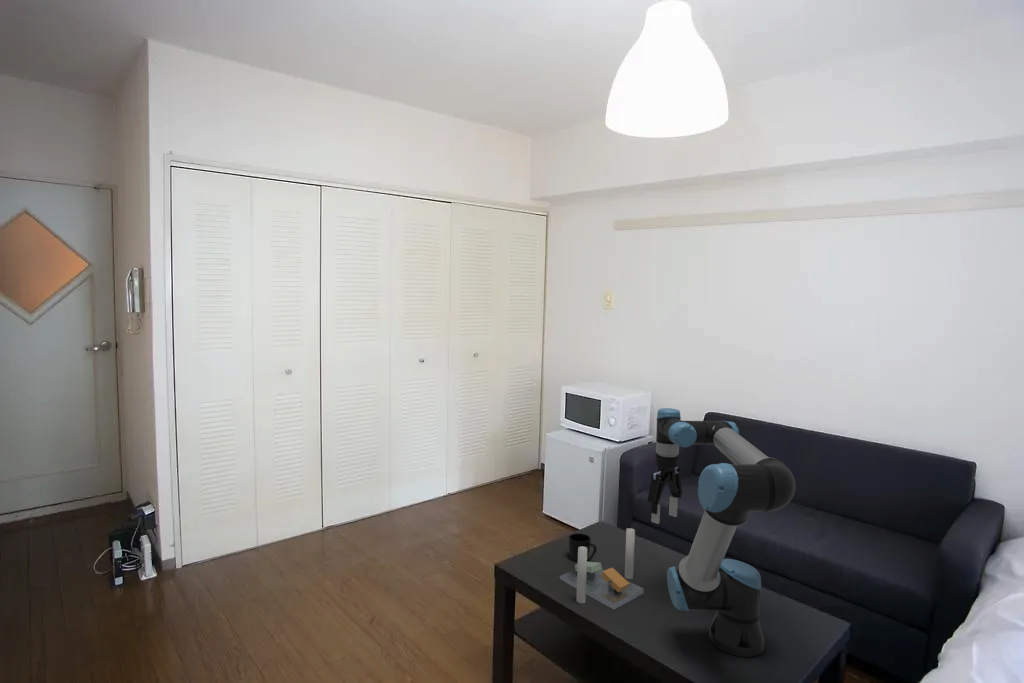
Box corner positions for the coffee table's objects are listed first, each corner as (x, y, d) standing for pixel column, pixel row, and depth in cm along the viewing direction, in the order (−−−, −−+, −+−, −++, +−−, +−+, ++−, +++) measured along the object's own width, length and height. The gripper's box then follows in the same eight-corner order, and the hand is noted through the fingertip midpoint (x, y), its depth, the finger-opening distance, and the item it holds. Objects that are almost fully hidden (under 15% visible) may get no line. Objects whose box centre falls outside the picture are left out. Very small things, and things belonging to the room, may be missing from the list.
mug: (587, 572, 207) (587, 547, 206) (563, 560, 216) (564, 536, 215) (601, 566, 212) (602, 541, 211) (578, 555, 221) (579, 531, 220)
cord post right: (634, 579, 202) (636, 530, 201) (629, 581, 200) (631, 532, 199) (627, 576, 205) (629, 527, 204) (622, 578, 203) (624, 529, 202)
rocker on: (602, 568, 199) (601, 562, 199) (591, 573, 195) (590, 567, 195) (586, 566, 205) (585, 560, 205) (574, 571, 201) (573, 565, 201)
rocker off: (628, 587, 190) (630, 582, 190) (617, 593, 186) (619, 588, 186) (611, 571, 196) (613, 566, 195) (600, 576, 192) (601, 571, 191)
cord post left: (587, 602, 186) (589, 548, 185) (581, 605, 184) (583, 550, 183) (580, 598, 188) (582, 545, 187) (574, 601, 186) (576, 547, 185)
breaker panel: (643, 594, 192) (643, 584, 192) (613, 609, 181) (614, 598, 181) (589, 568, 210) (590, 559, 210) (559, 581, 199) (560, 571, 199)
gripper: (675, 447, 201) (673, 509, 202) (637, 457, 186) (635, 523, 187) (694, 451, 195) (691, 515, 197) (657, 462, 181) (654, 530, 182)
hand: (664, 519), depth 192 cm, fingers open, 10 cm apart
